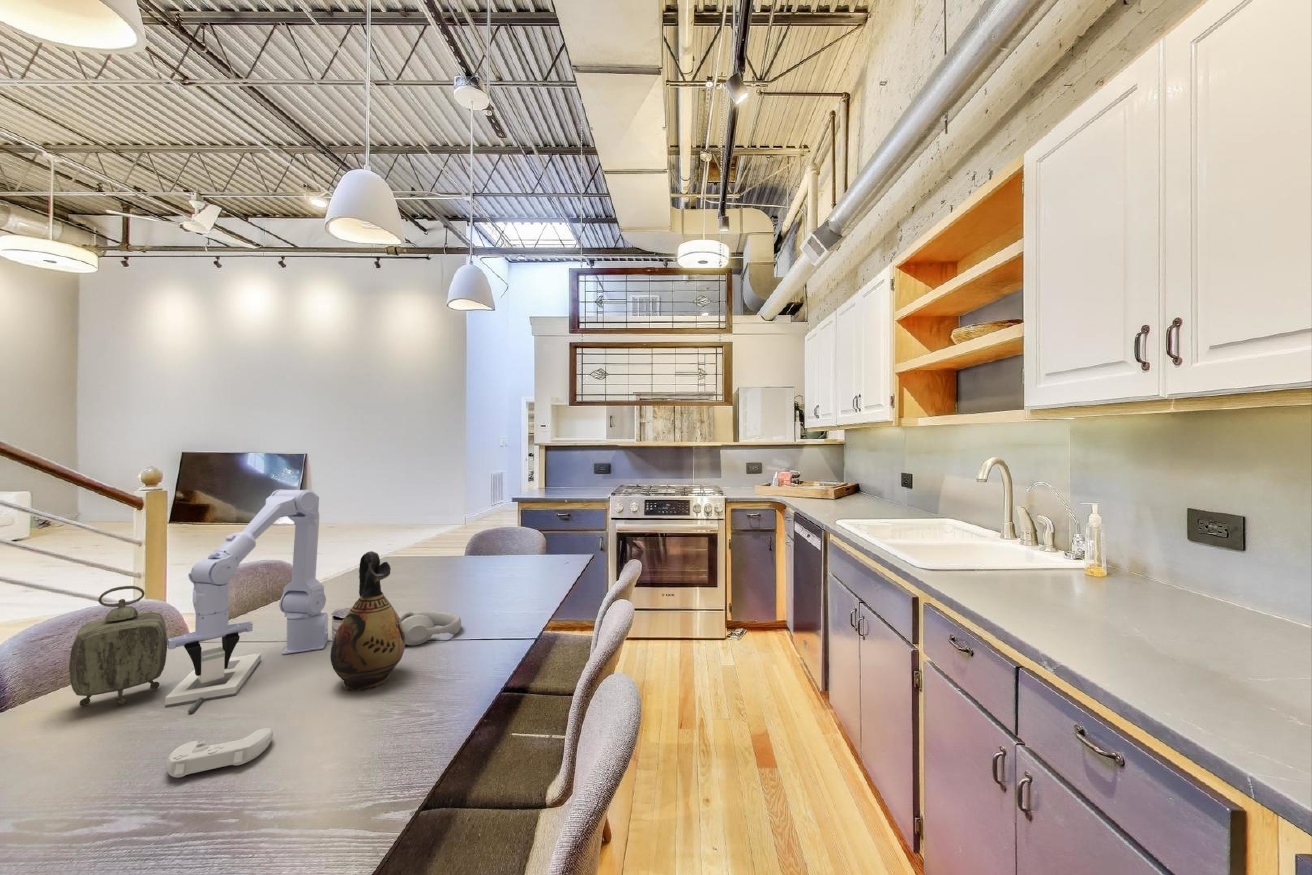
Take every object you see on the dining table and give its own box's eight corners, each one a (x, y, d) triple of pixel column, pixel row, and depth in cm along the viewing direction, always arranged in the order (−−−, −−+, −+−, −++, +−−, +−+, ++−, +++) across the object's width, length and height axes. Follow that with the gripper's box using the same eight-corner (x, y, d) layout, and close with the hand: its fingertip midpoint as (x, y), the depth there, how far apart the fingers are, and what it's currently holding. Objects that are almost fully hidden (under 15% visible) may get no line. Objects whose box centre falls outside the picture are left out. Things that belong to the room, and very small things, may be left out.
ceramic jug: (415, 680, 121) (416, 553, 121) (342, 704, 109) (343, 564, 110) (389, 659, 132) (389, 544, 133) (320, 679, 121) (321, 553, 121)
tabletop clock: (166, 684, 119) (167, 576, 119) (166, 697, 112) (168, 584, 113) (72, 706, 109) (74, 589, 109) (66, 722, 102) (69, 598, 103)
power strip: (260, 661, 131) (260, 652, 131) (226, 707, 108) (226, 697, 108) (201, 669, 126) (201, 661, 126) (151, 721, 103) (152, 710, 103)
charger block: (220, 672, 119) (221, 646, 119) (224, 677, 117) (224, 650, 117) (197, 678, 116) (197, 651, 116) (200, 683, 114) (201, 656, 114)
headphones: (410, 652, 136) (471, 638, 152) (414, 621, 137) (474, 611, 153) (371, 638, 145) (433, 627, 162) (375, 610, 146) (436, 602, 163)
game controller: (277, 720, 98) (262, 736, 89) (276, 745, 97) (260, 764, 88) (180, 738, 92) (153, 756, 83) (178, 765, 91) (150, 786, 82)
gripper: (247, 600, 125) (247, 656, 124) (166, 615, 113) (165, 676, 113) (255, 606, 120) (254, 663, 120) (171, 622, 109) (170, 686, 109)
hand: (211, 670), depth 116 cm, fingers closed on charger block, 4 cm apart
